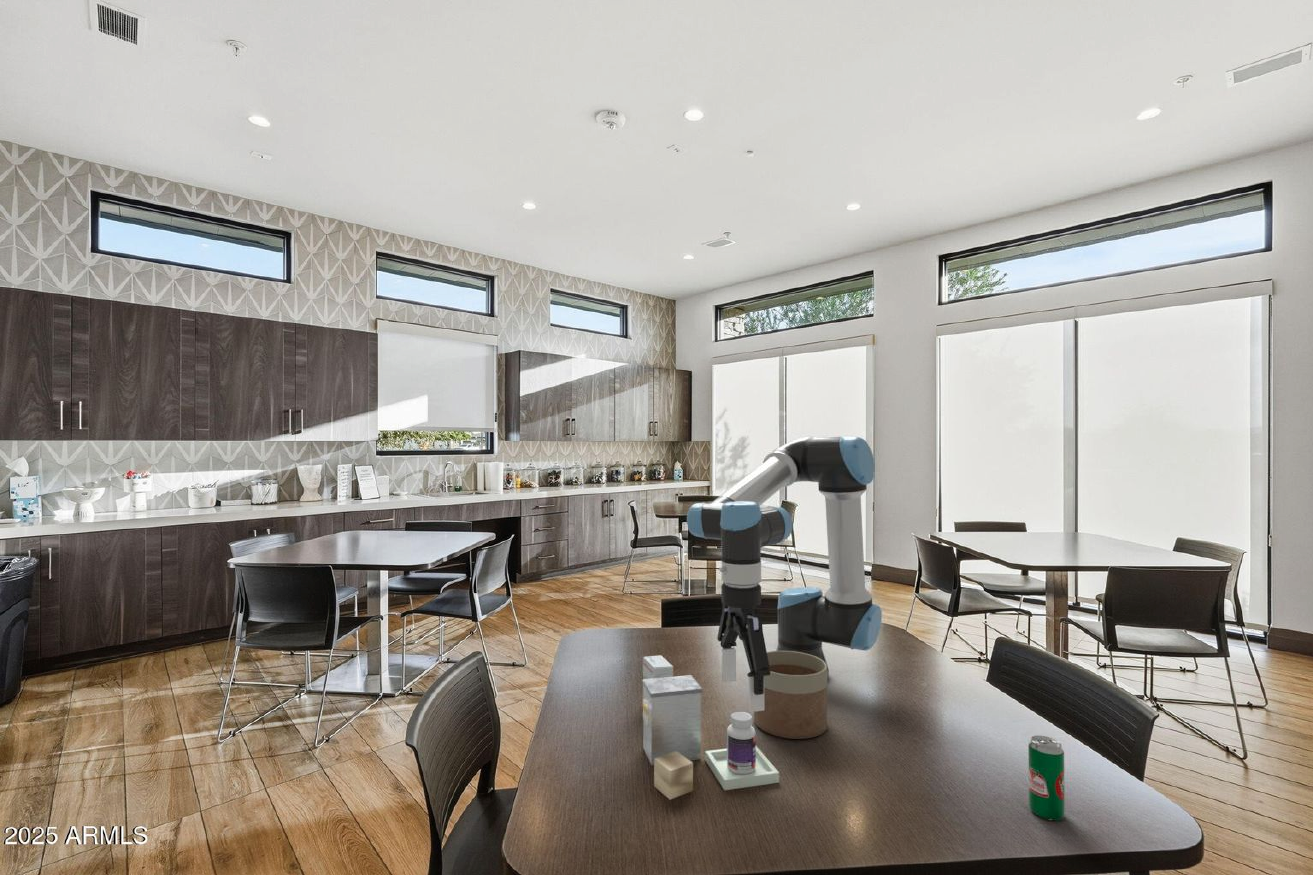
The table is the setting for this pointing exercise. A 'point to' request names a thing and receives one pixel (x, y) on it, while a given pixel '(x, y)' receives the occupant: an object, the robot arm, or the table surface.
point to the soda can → (1046, 777)
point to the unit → (672, 717)
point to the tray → (731, 780)
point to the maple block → (673, 775)
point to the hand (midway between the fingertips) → (742, 695)
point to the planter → (794, 696)
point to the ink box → (656, 668)
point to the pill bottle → (741, 744)
